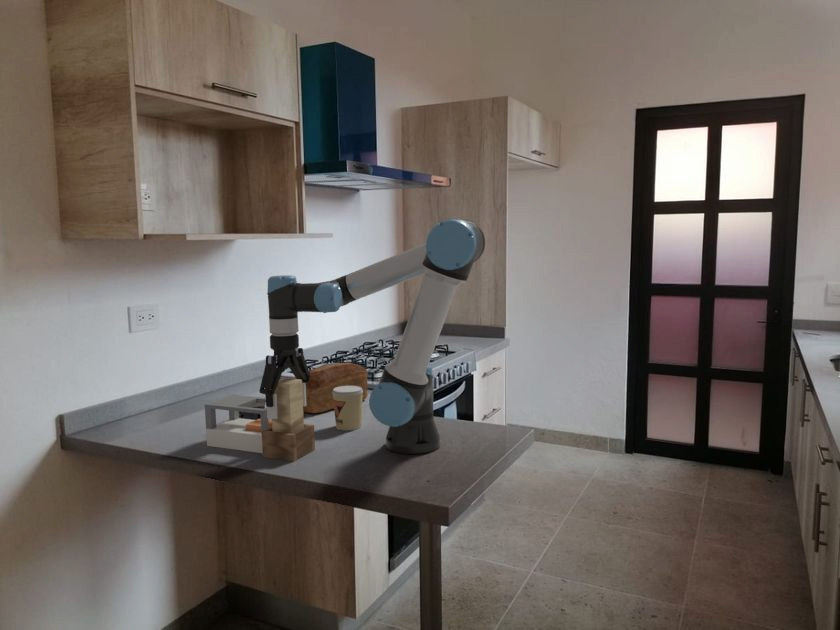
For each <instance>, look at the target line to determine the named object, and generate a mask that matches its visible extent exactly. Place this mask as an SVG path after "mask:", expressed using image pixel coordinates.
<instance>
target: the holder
mask: <svg viewBox="0 0 840 630" xmlns="http://www.w3.org/2000/svg"><path fill="white" fill-rule="evenodd" d="M315 439H316V437H315V425H314V424H309V423H307V424H306V423H304V428H303V429H301V430H298V431H296V432H294V433H292V434H291V433H282V432H274V431H272V427H271V428H268V429H266V430H264V431H262V449H263V453H262V457H263V458H268V459H275V460H280V461H281V460H283V461H289V462H296V461H298V460H300V459H301V458H303V457H305V456H306V455H309V454H310V453H312V452H315V450H316V445H315V444H316V442H315Z"/></svg>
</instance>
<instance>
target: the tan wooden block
mask: <svg viewBox="0 0 840 630" xmlns="http://www.w3.org/2000/svg"><path fill="white" fill-rule="evenodd" d="M274 394H277V416H278V419H271V420H272V431H274V432H282V433H291V434H292V433H294V432H296V431H298V430H301V429H303V428H304V424H305V423H304V422H305V420H304V418H305V417H304V412H303V393H302V380H301V379H296V378H288V377H287V378H286V377H282V378H280V380H279V382H278V385H277V387H276V390H275V392H274Z"/></svg>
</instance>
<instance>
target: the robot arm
mask: <svg viewBox="0 0 840 630" xmlns="http://www.w3.org/2000/svg"><path fill="white" fill-rule="evenodd" d="M485 246H486V236H485V234H484V232H483V230H482V229H481V228H480V226H479V225H478V224H477V223H474V222H473V221H471V220H468V219H460V218H446V219H444V220H442V221H440V222H438V223H437V224H435V225H434V226H433V227H432V228H431V230H430V231H429V232H428V235H427V237H426V241H425V243H423V244H420V245H417V246H415V247H412V248H409V249H407V250H405V251H402V252H399V253H398V254H395V255H393V256H390V257H387V258H385V259H382V260H380V261H377V262H375V263H372V264H369V265H368V266H366V267H362V268H360V269H358V270H355V271H353V272H352V271H351V272H350V273H347V274H345V275H342V276H340V277H337V278H334V279H331V280H328V281H322V282H316V283H315V282H314V283H313V282H312V283H311V282H310V283H301V282H298V281H297V277H296V275H290V274H289V275H287V274H286V275H284V274H282V275H273V276H270V277H269V278H268V279H267V292H266V295H267V301H268V303H267V304H268V323H269V333H270V336H269V346H270V347H269V348H270V349H271V350H273V354H272V355H266V356H265V366H264V370H263V373H262V378H261V382H260V386H259V394H262V395H265V398H266V403H265V408H267V418H268V420H272V419H278V416H277V394H274V392H275V390H276V387H277V385H278V382H279V380H280V379H281V376H282V374H283V373H284V372H285V371H286V370H288V369H289V370H290V371H291V373H292V374H293V376H294V377H295V379H301V380H302V393H303V406H306V382H309V379H310V377H311V375H310V372H309V367H308V364H307V361H306V359H305V355H304V349H303V348H302V347H299V346H300V343H299V342H300V339H299V334H298V332H299V318H298V317H299V315H298V313H323V314H327V313H336V312H338V311H340V308H341V307H343V306H346V305H349V304H350V303H352V302H355V301H357V300H360V299H362V298H365V297H368V296H370V295H374V294H376V293H378V292H380V291H383V290H387V289H388V288H391V287H395V286H397V285H400V284H401V283H402V284H403V283H405V282H407V281H409V280H412V279H415V278H418V277H420V276H422V275H424V276H423V279H422V282H421V283H420V287H419V290H418V293H417V296H416V298H415V301H414V303H413V307H412V309H411V312H410V315H409V318H408V320H407V323H406V326H405V328H404V332H403V334H402V337H401V340H400V342H399V345H398V347H397V350H396V353H395V355H394V358H393V361H391V362H388V363H386V364H385V365H384V369H383V371H382V374H381V377H380V379H379V382H378V384H376V385H375V387H373V389H372V391H371V393H370V395H369V399H368V406H369V409H370V412H371V414H372V415H373V417H374V418H375V420H377V421H378V422H379V423H380V424H383V425H385V426H387V427H388V431H387V434H386V437H385V448H386V449H387V450H389V451H391V452H394V453H398V454H403V455H404V454H405V455H419V454H425V453H430V452H433V451H436V450H438V449H439V448H440V447H441V437H440V432H439V429H438V427H437V424H436V422H435V419H434V418H435V417H434V374H433V367H432V366H431V365H429V364H430V361H431V359H432V356H433V354H434V351H435V348H436V345H437V342H438V340H439V337H440V335H441V332H442V331H443V327H444V324H445V321H446V319H447V316H448V313H449V311H450V307H451V306H452V303H453V300H454V297H455V295H456V293H457V290H458V288H459V286H460V285H462V284H464V283H467V281H468V279H469V276H470V273H471V271H472V268H473V265H474V263H475V262H476V261H478V260H479V259H480V258H481V257H482V255H483V253H484V251H485V249H486V247H485ZM304 373H306V374H304Z"/></svg>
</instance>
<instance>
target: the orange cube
mask: <svg viewBox="0 0 840 630" xmlns="http://www.w3.org/2000/svg"><path fill="white" fill-rule="evenodd" d="M268 422H269V428H271V427H272V419H268ZM246 430H247V431H256V432H261V419H257V420H255V421H253V422H250V423H248V424H246Z"/></svg>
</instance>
